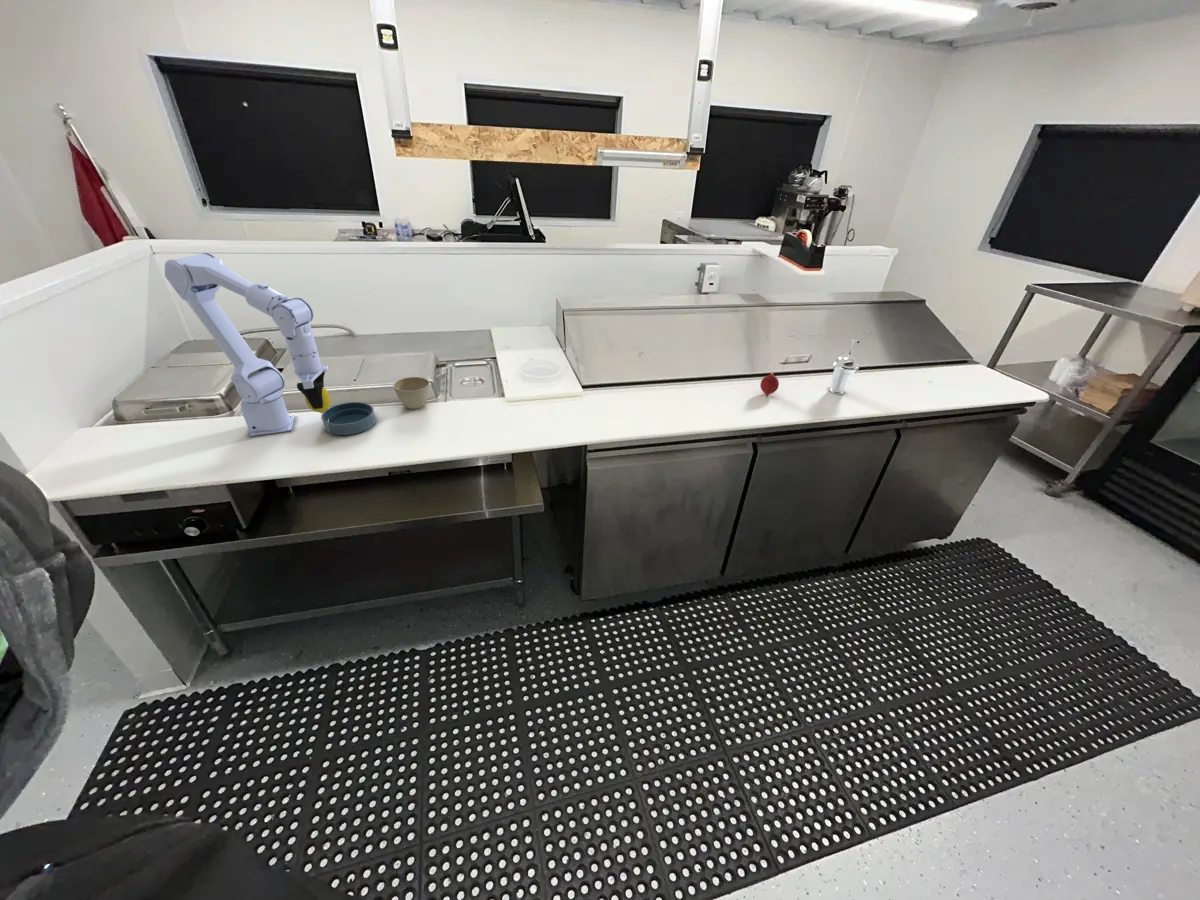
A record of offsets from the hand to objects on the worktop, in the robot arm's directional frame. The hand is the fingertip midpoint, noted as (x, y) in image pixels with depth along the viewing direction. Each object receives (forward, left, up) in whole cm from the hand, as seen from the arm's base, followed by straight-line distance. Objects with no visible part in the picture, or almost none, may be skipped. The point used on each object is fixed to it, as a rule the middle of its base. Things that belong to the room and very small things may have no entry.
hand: (318, 402), depth 123 cm
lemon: (0, 0, -3) cm, 3 cm away
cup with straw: (+160, -18, -11) cm, 161 cm away
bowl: (+5, +6, -10) cm, 13 cm away
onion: (+134, -13, -11) cm, 135 cm away
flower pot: (+23, +12, -11) cm, 28 cm away
